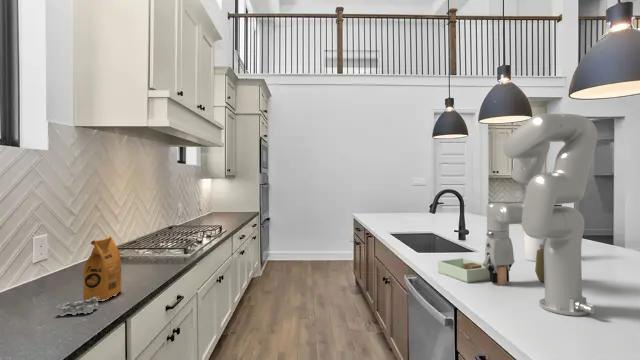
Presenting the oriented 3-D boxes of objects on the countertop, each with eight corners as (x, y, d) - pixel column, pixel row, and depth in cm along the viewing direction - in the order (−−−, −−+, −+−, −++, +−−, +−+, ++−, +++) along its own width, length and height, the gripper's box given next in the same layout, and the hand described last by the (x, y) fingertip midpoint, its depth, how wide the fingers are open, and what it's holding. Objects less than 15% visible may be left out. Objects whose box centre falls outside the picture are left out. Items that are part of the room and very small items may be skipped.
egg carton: (101, 307, 117) (101, 295, 117) (89, 316, 110) (89, 303, 110) (68, 309, 116) (68, 297, 116) (53, 318, 109) (53, 305, 109)
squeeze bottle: (552, 278, 138) (551, 233, 138) (564, 284, 130) (563, 236, 130) (531, 278, 138) (529, 233, 138) (542, 284, 130) (540, 237, 130)
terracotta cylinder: (509, 284, 131) (509, 266, 131) (499, 286, 129) (499, 267, 129) (499, 281, 136) (498, 263, 136) (489, 282, 134) (488, 264, 134)
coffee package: (77, 303, 121) (76, 241, 121) (100, 292, 134) (99, 235, 134) (105, 303, 121) (104, 240, 121) (126, 291, 134) (124, 235, 134)
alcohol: (523, 257, 174) (521, 198, 174) (543, 259, 171) (542, 198, 171) (526, 261, 166) (524, 199, 166) (547, 263, 162) (546, 199, 163)
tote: (494, 279, 138) (494, 266, 138) (467, 283, 134) (466, 270, 134) (463, 269, 155) (462, 258, 155) (438, 272, 151) (437, 261, 151)
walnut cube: (481, 277, 139) (481, 265, 139) (471, 278, 138) (471, 266, 138) (472, 274, 144) (472, 262, 144) (462, 275, 142) (462, 263, 142)
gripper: (488, 237, 126) (489, 287, 126) (523, 234, 132) (524, 281, 132) (473, 235, 133) (474, 281, 133) (506, 231, 139) (508, 276, 139)
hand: (499, 281), depth 133 cm, fingers closed on terracotta cylinder, 5 cm apart
